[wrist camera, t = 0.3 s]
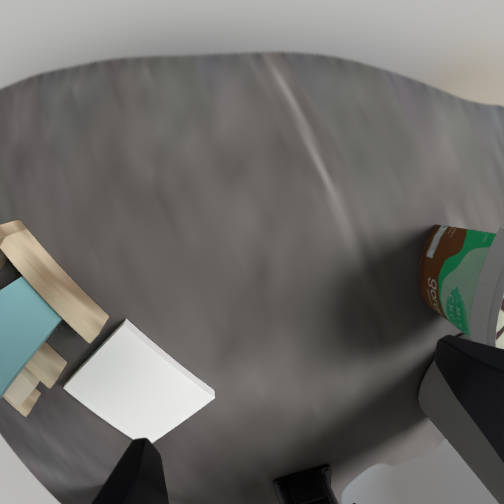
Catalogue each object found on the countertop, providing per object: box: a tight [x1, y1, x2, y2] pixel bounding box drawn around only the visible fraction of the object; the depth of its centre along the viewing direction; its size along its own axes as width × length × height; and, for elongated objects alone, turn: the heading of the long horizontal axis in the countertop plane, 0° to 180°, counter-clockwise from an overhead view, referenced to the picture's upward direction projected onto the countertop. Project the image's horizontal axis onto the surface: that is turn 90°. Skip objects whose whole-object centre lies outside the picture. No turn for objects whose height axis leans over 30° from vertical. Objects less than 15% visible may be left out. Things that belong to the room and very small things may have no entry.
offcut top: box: [4, 367, 40, 408], centre depth 17 cm, size 7×4×2 cm, turn 41°
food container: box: [419, 225, 504, 349], centre depth 20 cm, size 12×6×10 cm, turn 44°
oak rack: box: [0, 219, 109, 417], centre depth 18 cm, size 10×13×4 cm
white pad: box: [63, 319, 215, 443], centre depth 22 cm, size 9×9×1 cm
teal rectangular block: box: [0, 276, 63, 399], centre depth 14 cm, size 4×4×12 cm
